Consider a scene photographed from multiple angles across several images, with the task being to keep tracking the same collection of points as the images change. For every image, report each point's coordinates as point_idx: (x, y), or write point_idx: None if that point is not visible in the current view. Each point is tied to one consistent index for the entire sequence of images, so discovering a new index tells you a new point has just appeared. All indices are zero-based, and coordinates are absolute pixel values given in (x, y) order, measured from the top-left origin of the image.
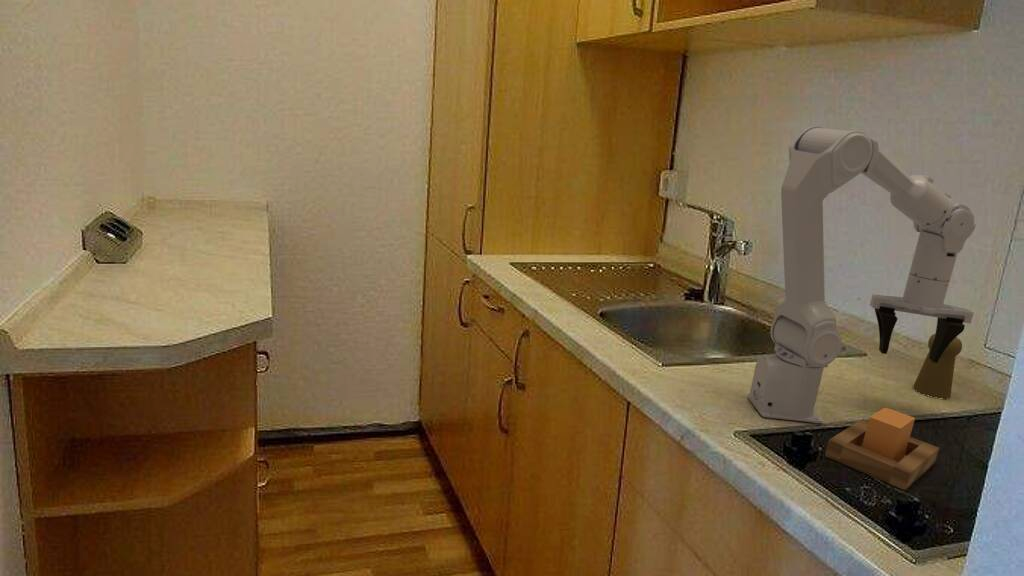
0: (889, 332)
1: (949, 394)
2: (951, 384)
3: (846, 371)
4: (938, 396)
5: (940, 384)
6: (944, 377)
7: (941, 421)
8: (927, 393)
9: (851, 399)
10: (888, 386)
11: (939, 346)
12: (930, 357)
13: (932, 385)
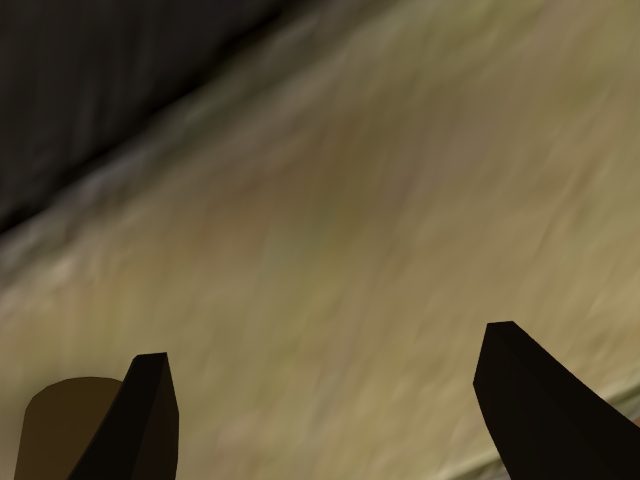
0: (619, 450)
1: (28, 415)
2: (19, 458)
3: (381, 434)
4: (73, 386)
5: (66, 433)
6: (49, 467)
7: (82, 135)
8: (115, 389)
9: (461, 178)
10: (255, 390)
11: (138, 463)
12: (175, 410)
13: (99, 422)
